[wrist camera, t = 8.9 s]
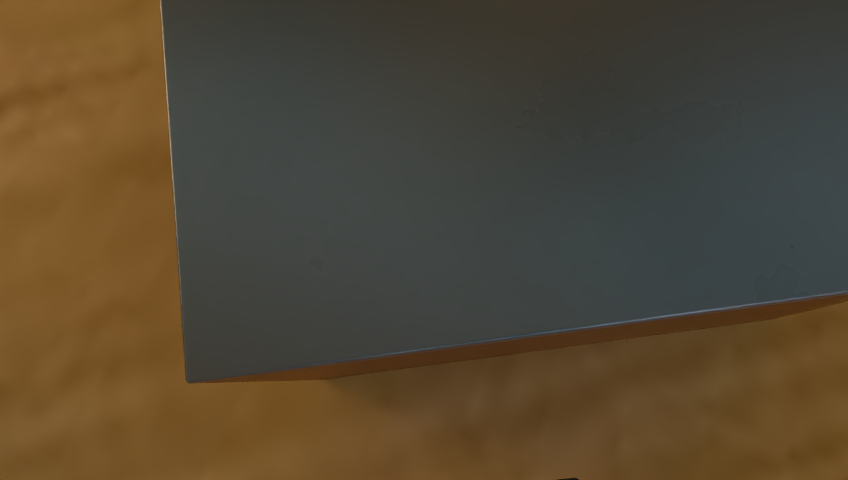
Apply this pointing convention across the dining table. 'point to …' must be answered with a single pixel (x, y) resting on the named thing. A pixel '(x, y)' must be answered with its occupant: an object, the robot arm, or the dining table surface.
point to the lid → (495, 170)
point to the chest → (548, 342)
